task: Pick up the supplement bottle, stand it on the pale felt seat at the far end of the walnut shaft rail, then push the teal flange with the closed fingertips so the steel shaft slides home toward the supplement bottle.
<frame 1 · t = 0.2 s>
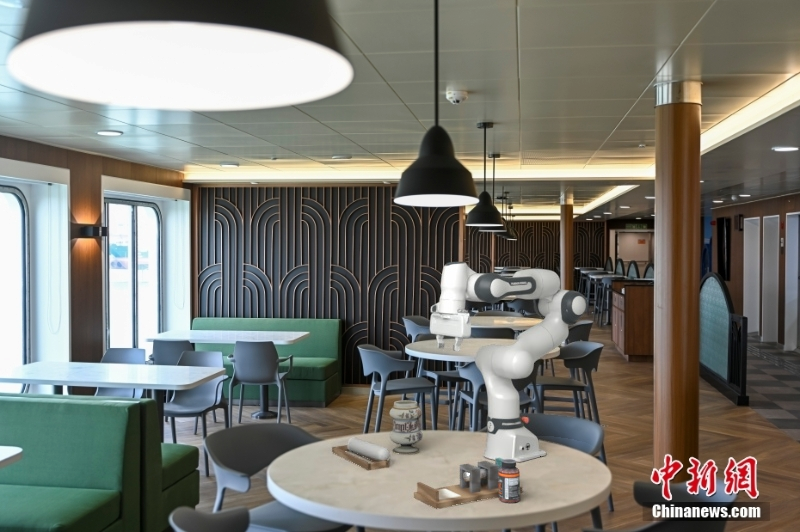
hand: (448, 349, 248), 39 cm above the table, tool pointing down, fingers open, 8 cm apart
rail: (468, 495, 214), on the table
apothecary jar: (406, 451, 267), on the table
tube: (362, 450, 255), point 3 cm above the table, touching tube cradle
shaft: (486, 473, 217), point 5 cm above the table, slide at 0.0 cm
supplement bottle: (509, 501, 209), on the table
tube cradle: (359, 459, 256), on the table
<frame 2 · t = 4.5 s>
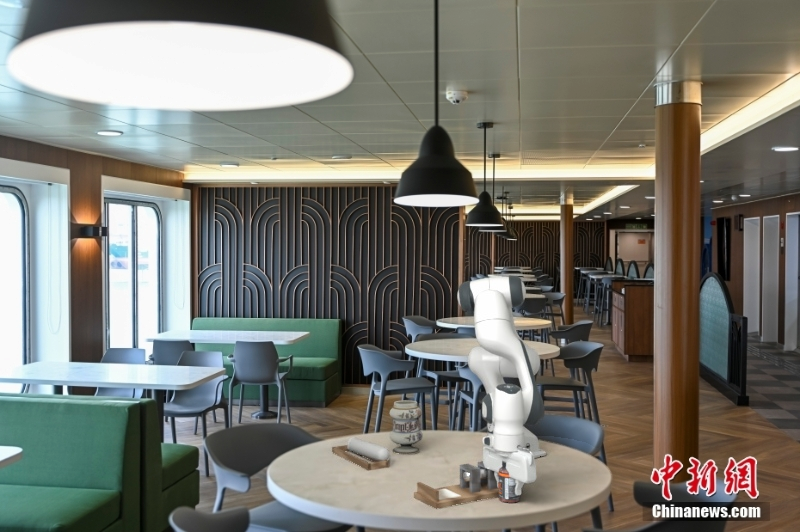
hand: (509, 491, 209), 3 cm above the table, tool pointing down, fingers closed on supplement bottle, 6 cm apart
supplement bottle: (509, 501, 209), on the table, touching gripper
everything else where it was.
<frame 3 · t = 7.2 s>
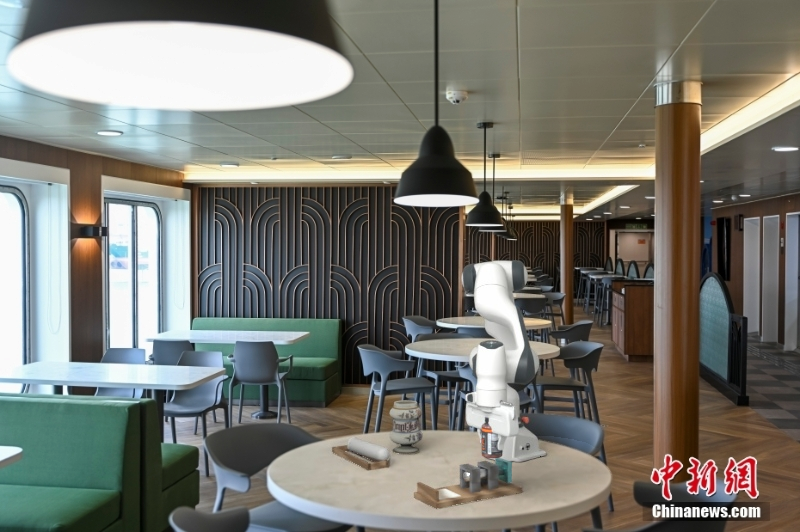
hand: (491, 447, 209), 15 cm above the table, tool pointing down, fingers closed on supplement bottle, 6 cm apart
supplement bottle: (492, 457, 209), point 12 cm above the table, touching gripper
everything else where it was.
when the fingers open (5 cm above the table, at t = 10.1 s): supplement bottle stays where it is, resting on rail.
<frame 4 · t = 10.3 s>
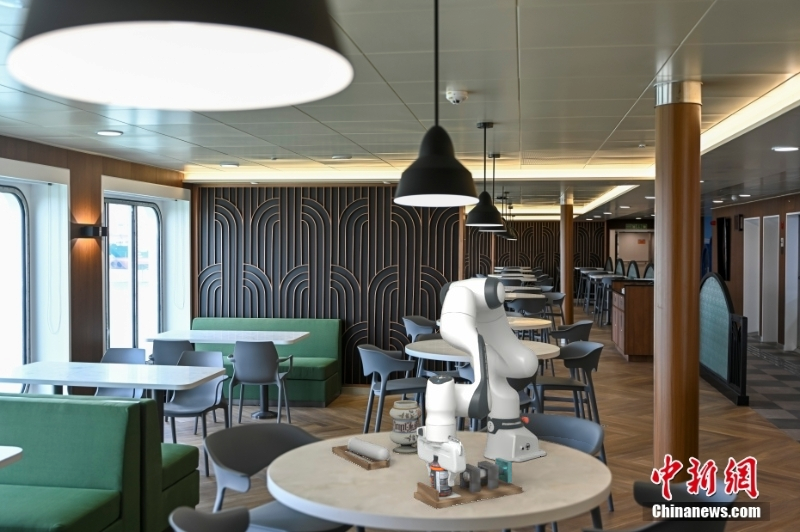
hand: (441, 481, 209), 5 cm above the table, tool pointing down, fingers open, 8 cm apart
supplement bottle: (441, 494, 209), point 2 cm above the table, touching rail
everything else where it was.
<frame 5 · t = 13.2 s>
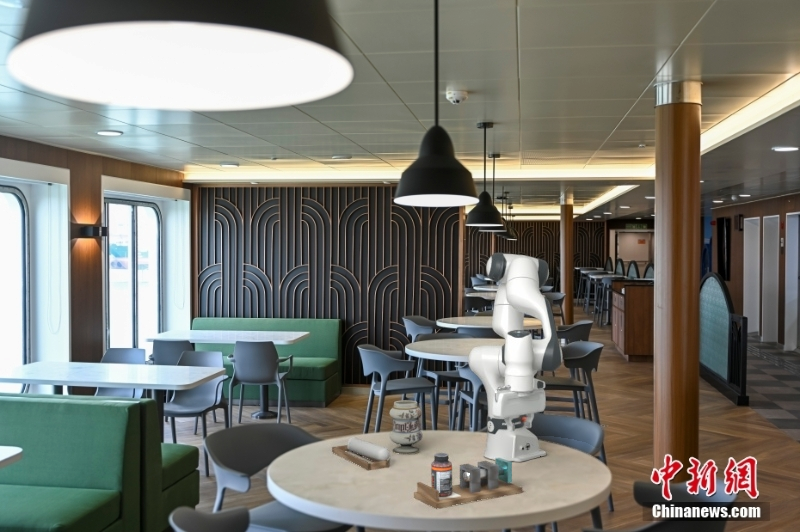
hand: (519, 429, 224), 17 cm above the table, tool pointing down, fingers open, 6 cm apart
nothing on the table moved.
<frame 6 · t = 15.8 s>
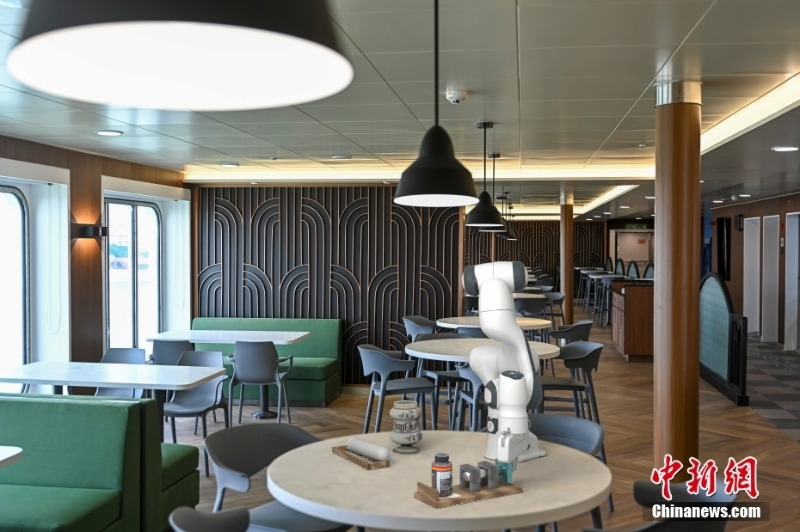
hand: (513, 471, 222), 5 cm above the table, tool pointing down, fingers closed
shaft: (485, 473, 217), point 6 cm above the table, slide at 0.1 cm, touching gripper
everything else where it was.
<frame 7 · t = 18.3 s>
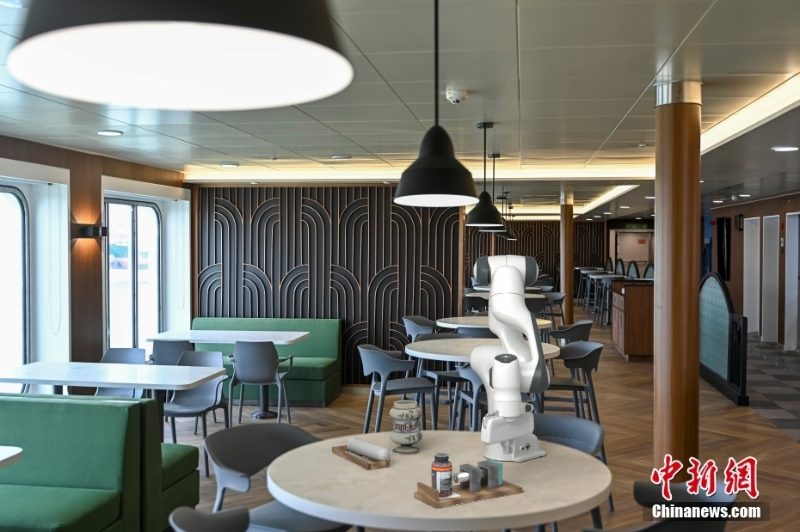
hand: (508, 453, 224), 10 cm above the table, tool pointing down, fingers closed
shaft: (476, 474, 215), point 5 cm above the table, slide at 3.5 cm
everything else where it was.
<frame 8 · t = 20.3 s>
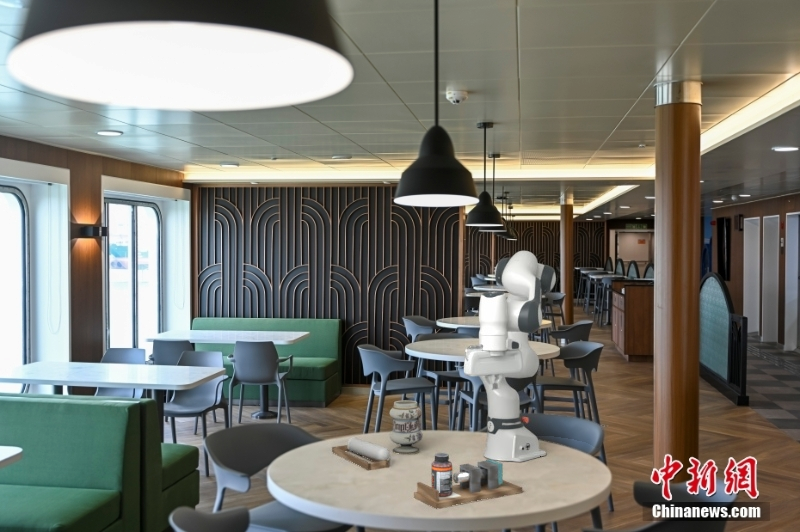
hand: (493, 389, 225), 29 cm above the table, tool pointing down, fingers closed
nothing on the table moved.
at the end: supplement bottle inside the target area on the rail (0.1 cm from its centre), point 1.5 cm above the rail's base; supplement bottle tilted 0°; shaft slide at 3.5 cm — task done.
